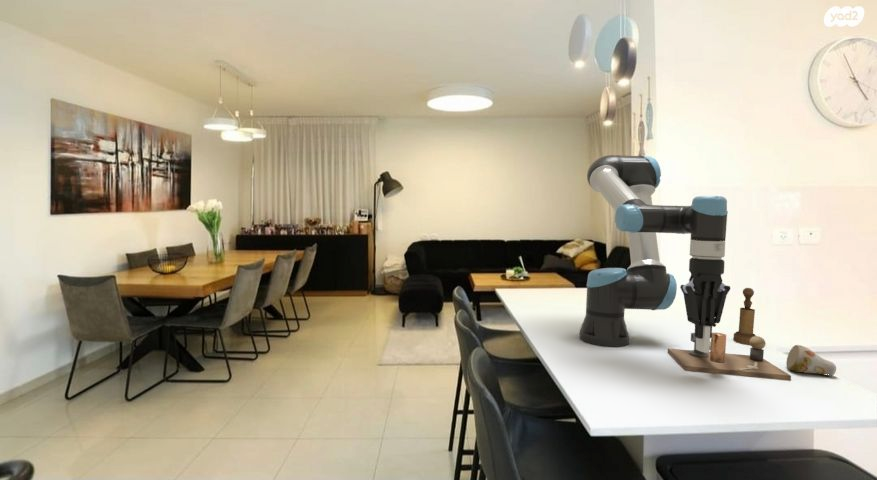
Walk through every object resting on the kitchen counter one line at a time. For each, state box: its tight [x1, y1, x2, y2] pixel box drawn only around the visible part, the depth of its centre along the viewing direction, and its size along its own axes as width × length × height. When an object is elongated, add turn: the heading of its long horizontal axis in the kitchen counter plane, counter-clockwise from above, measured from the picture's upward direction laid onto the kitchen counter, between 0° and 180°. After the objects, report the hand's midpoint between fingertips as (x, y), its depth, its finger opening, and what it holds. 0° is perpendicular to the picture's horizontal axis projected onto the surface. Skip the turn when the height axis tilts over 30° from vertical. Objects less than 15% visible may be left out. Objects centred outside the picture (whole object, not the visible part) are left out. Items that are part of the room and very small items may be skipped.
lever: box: [690, 332, 727, 363], centre depth 118 cm, size 17×4×7 cm, turn 167°
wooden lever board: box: [667, 335, 792, 381], centre depth 119 cm, size 24×16×8 cm, turn 77°
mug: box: [785, 344, 837, 376], centre depth 115 cm, size 8×10×10 cm
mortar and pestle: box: [732, 287, 757, 345], centre depth 143 cm, size 7×6×18 cm
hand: (702, 350), depth 110 cm, fingers closed
